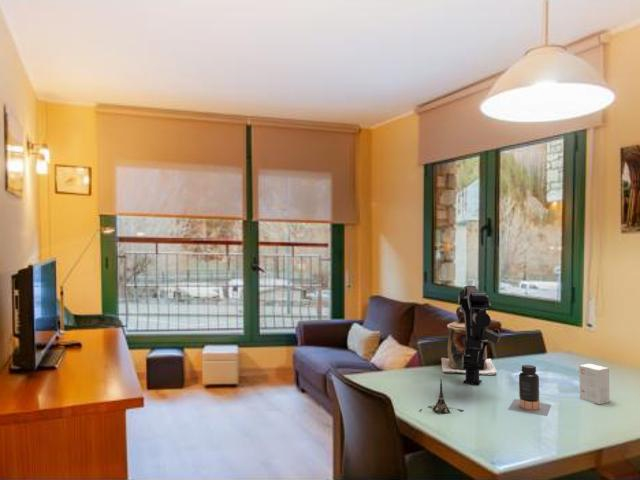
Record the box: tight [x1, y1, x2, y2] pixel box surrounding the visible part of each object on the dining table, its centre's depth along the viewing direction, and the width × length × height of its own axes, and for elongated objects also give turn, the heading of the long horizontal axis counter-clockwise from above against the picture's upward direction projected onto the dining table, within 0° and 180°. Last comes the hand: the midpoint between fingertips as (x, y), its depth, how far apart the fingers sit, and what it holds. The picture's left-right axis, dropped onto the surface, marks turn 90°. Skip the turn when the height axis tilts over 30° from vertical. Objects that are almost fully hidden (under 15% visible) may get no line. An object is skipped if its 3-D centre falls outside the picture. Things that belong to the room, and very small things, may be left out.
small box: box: [578, 363, 611, 405], centre depth 183 cm, size 8×6×13 cm
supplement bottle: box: [518, 364, 540, 401], centre depth 176 cm, size 7×7×12 cm
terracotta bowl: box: [519, 397, 541, 410], centre depth 176 cm, size 7×7×3 cm
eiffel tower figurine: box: [418, 378, 465, 416], centre depth 174 cm, size 15×10×13 cm
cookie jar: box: [440, 305, 498, 376], centre depth 231 cm, size 25×25×32 cm
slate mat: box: [507, 398, 552, 417], centre depth 176 cm, size 13×13×1 cm
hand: (478, 361), depth 193 cm, fingers open, 9 cm apart
